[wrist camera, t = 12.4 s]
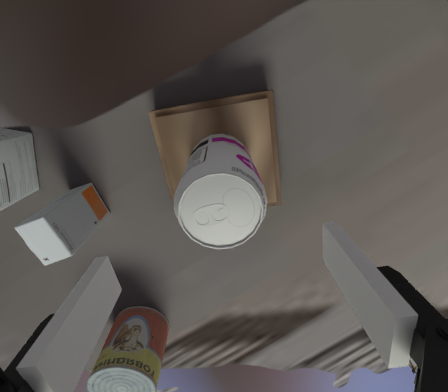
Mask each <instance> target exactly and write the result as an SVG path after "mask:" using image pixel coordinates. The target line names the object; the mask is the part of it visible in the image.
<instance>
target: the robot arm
mask: <svg viewBox="0 0 448 392" xmlns="http://www.w3.org/2000/svg"><path fill="white" fill-rule="evenodd" d="M323 262H324V263H325V265H326V267H327V268H328V270H329V272H330V273H331V275H332V277H333V278H334V280H335V282H336V283H337V285H338V287H339V288H340V290H341V291H342V293H343V295H344V296H345V298H346V300H347V301H348V303H349V305H350V306H351V308H352V310H353V311H354V313H355V315H356V316H357V318H358V320H359V321H360V323H361V324H362V326H363V328H364V329H365V331H366V333H367V334H368V336H369V338H370V339H371V341H372V343H373V344H374V346H375V348H376V349H377V351H378V353H379V354H380V356H381V358H382V359H383V361H384V362H385V364H386V366H387V367H388V368H396V367H404V366H408V364H409V359H410V356H411V358H412V359H413V361H414V362H415V363H416V365H417V366H418V368H417V372H416V377H415V381H414V383H415V390H414V392H448V319H445V318H444V317H443V316H442V315H441V314H440V313H439V312H438V311H437V310H436V309H435V308H434V307H433V306H432V305H431V304H430V303H429V302H428V301H427V300H426V299H425V298H424V297H423V296H422V295H421V294H420V293H419V292H418V291H417V290H415V288H414V287H413V286H412V285H411V284H410V283H408V281H407V280H406V279H405V278H404V277H403V276H402V274H401V273H400V272H398V271H396V270H394V269H393V268H391V267H389V266H383V267H376V266H375V265H374V264H373V263H372V262H371V261H370V260H369V259H368V257H367V256H366V255H365V254H364V253H363V252H362V251H361V249H360V248H359V247H358V246H357V245H356V244H355V243H354V241H353V240H352V239H351V238H350V237H349V236H348V235H347V234H346V232H345V231H344V230H343V229H342V228H341V227H340V226H339V224H338V223H337V222H336V221H335V222H328V223H323ZM121 291H122V289H121V286H120V284H119V282H118V279H117V277H116V274H115V272H114V270H113V267H112V265H111V263H110V260H109V258H108V256H102V257H96V258H95V259H94V260H93V262H92V263H91V265H90V266H89V267H88V269H87V270H86V271H85V273H84V274H83V276H82V277H81V278H80V280H79V281H78V283H77V284H76V285H75V287H74V288H73V290H72V291H71V292H70V294H69V295H68V296H67V298H66V299H65V301H64V302H63V303H62V305H61V306H60V308H59V309H58V310H57V312H56V313H55V314H51V315H49V316H48V317H47V318H46V319H45V320H44V321H43V322H42V323H40V325H39V326H38V327H37V329H36V330H35V331H34V333H33V335H32V336H31V337H30V338H29V339H28V341H27V343H26V344H25V345H24V346H23V347H22V349H21V350H20V351H19V353H18V354H17V355H16V357H15V358H14V359H13V361H12V362H11V363H10V365H9V366H8V367H7V369H6V370H5V371H3V370H2V369H1V368H0V392H74V390H75V388H76V386H77V384H78V381H79V380H80V377H81V375H82V373H83V371H84V369H85V367H86V365H87V363H88V361H89V358H90V356H91V354H92V352H93V350H94V348H95V346H96V344H97V342H98V339H99V337H100V335H101V333H102V331H103V329H104V327H105V325H106V323H107V320H108V318H109V316H110V314H111V312H112V310H113V308H114V306H115V304H116V301H117V299H118V297H119V295H120V293H121Z"/></svg>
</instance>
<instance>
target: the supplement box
mask: <svg viewBox="0 0 448 392" xmlns="http://www.w3.org/2000/svg"><path fill="white" fill-rule="evenodd" d="M37 190H39V183H38V175H37V168H36V160H35V153H34V145H33V137H32V133H29V132H22V131H17V130H11V129H4V128H0V211H1V210H3V209H5V208H7V207H8V206H10V205H12V204H14V203H16V202H17V201H19V200H21V199H23V198H25V197H26V196H28V195H30V194H32V193H34V192H35V191H37Z"/></svg>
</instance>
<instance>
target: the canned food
mask: <svg viewBox="0 0 448 392" xmlns="http://www.w3.org/2000/svg"><path fill="white" fill-rule="evenodd" d="M169 328H170V327H169V322H168V320H167V319H166V317H165V316H164V315H163V314H162V313H160V312H159V311H157V310H155V309H153V308H150V307H145V306H133V307H129V308H126V309H124V310H122V311H121V312H120V313H119V314H118V315H117V316H116V318H115V322H114V324H113V326H112V328H111V331H110V333H109V335H108V337H107V340H106V342H105V344H104V346H103V348H102V351H101V353H100V355H99V357H98V360H97V362H96V364H95V366H94V368H93V371H92V373H91V375H90V377H89V378H88V380H87V385H86V387H87V391H88V392H156V391H157V389H156V388H157V384H158V379H159V374H160V370H161V365H162V360H163V355H164V351H165V346H166V341H167V336H168V333H169Z"/></svg>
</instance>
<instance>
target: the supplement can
mask: <svg viewBox="0 0 448 392" xmlns="http://www.w3.org/2000/svg"><path fill="white" fill-rule="evenodd" d="M266 208H267V197H266V192H265V188H264V185H263V183H262V181H261V178H260V176H259V174H258V172H257V170H256V167H255V165H254V163H253V161H252V159H251V156H250V154H249V152H248V150H247V149H246V147H245V146H244V144H243V143H242V142H241V141H239V140H238V139H236V138H235V137H233V136H230V135H226V134H214V135H210V136H208V137H206V138H204V139H202V140H201V141H200V142H199V143H198V144H197V145H196V146H195V147H194V149H193V151H192V153H191V156H190V158H189V160H188V163H187V165H186V168H185V170H184V172H183V175H182V177H181V179H180V182H179V184H178V187H177V189H176V192H175V194H174V211H175V214H176V216H177V219H178V221H179V224H180V225H181V226H182V228H183V230H184V231H185V232H186V233H187V235H188V236H189V237H190V238H191V239H192V240H193V241H195V242H197V243H199V244H201V245H203V246H204V247H209V248H214V249H226V248H233V247H235V246H238V245H240V244H242V243H245V242H246V241H247V240H248V239H249V238H251V237H252V236H253V235H254V234H255V232H256V231H257V229H258V227H259V226H260V224H261V222H262V220H263V219H264V217H265V214H266Z"/></svg>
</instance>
